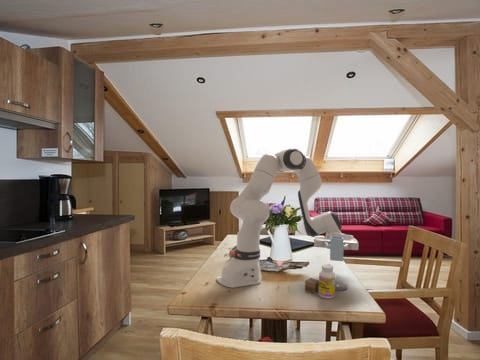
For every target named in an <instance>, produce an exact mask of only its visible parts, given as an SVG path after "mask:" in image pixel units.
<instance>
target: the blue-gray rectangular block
mask: <svg viewBox="0 0 480 360" xmlns="http://www.w3.org/2000/svg"><path fill="white" fill-rule="evenodd" d="M343 249H344V239H343V237H341V236H330V249H329V260H330V261H336V262H344V250H343Z"/></svg>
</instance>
